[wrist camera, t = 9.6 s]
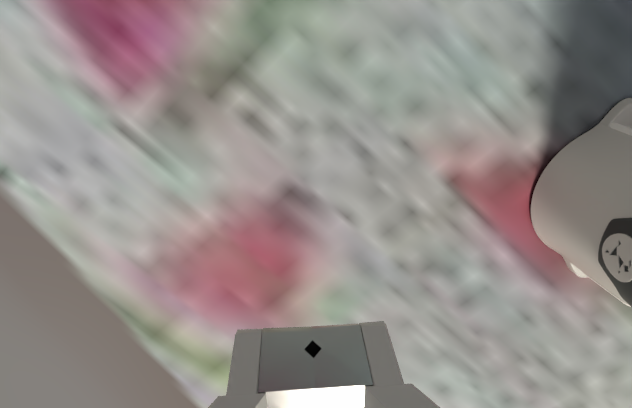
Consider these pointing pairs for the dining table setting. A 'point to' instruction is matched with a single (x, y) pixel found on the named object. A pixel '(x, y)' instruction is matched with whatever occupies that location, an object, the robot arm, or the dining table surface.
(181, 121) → the dining table surface
